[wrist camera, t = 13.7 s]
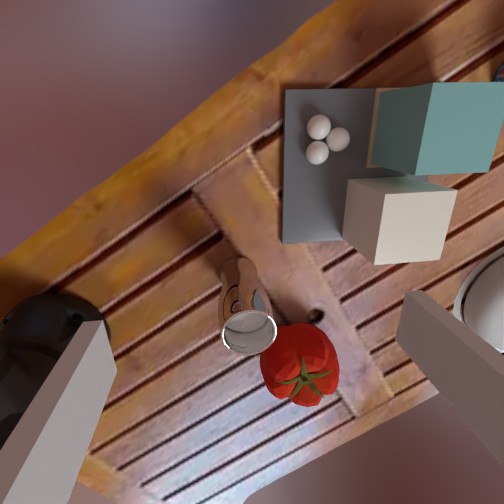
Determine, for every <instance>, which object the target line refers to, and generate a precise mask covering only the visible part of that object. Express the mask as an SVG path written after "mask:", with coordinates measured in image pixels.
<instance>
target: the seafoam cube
mask: <svg viewBox="0 0 504 504" xmlns="http://www.w3.org/2000/svg"><path fill="white" fill-rule="evenodd" d="M503 120H504V82H449V83H429V84H423V85H418V86H412V87H407V88H401V89H396V90H390V91H385V92H380V97H379V105H378V112H377V120H376V127H375V134H374V142H373V149H372V156H371V164H372V165H376V166H380V167H384V168H387V169H391V170H395V171H399V172H403V173H407V174H411V175H415V176H417V175H437V174H458V173H478V172H488V171H489V167H490V164H491V161H492V157H493V154H494V151H495V147H496V144H497V140H498V137H499V134H500V130H501V127H502V124H503Z"/></svg>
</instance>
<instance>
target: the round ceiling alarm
mask: <svg viewBox="0 0 504 504" xmlns="http://www.w3.org/2000/svg"><path fill="white" fill-rule="evenodd" d="M503 253H504V247H502V248H500V249H498V250H497V251H495V252H494V253H492V254H491V255H489V256H488V257H487V258H485V259H484V260H483V261H482V262H481V263H480V264H479V265H477V266H476V268H475V269H474V270H473V271H472V272H471V273H470V274H469V276H468V277H467V278H466V280H465V281H464V283H463V284H462V286H461V288H460V290H459V292H458V294H457V297H456V300H455V303H454V310H453V316H455V317H456V318H457V319H458V320H460V321H461V318H460V306H461V301H462V298H463V295H464V293H465V291H466V289H467V287H468V286H469V284H470V283H471V281H472V280H473V279H474V277H475V276H476V275H477V274H478V273H479V272H480V270H481V269H483V268H484V267H485V266H486V265H487V264H488V263H489V262H491V261H492V260H493V259H495V258H496V257H498V256H500V255H501V254H503ZM464 320H465V323H466V325H467V327H468V328H470V329H471V330H472V331H473V332H475V333H476V334H477V335H478V336H480V337H481V338H482V339H483V340H485V341H486V342H487V343H489V344H490V345H491V346H493V347H495V348H498V349H503V350H504V257H502V258H500V259H499V260H497V261H495V262H494V263H493V264H491V265H490V266H489V267H488V268H487V269H485V270H484V271H483V272H482V273H481V274H480V276H479V277H478V278H477V279H476V280H475V282H474V283H473V285H472V286H471V288H470V290H469V292H468V294H467V296H466V299H465V303H464Z"/></svg>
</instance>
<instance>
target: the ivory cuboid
mask: <svg viewBox="0 0 504 504" xmlns="http://www.w3.org/2000/svg"><path fill="white" fill-rule="evenodd" d="M457 192H458V190H455V189H451V188H447V187H444V186H440V185H436V184H433V183H429V182H425V181H422V180H418V179H414V178H411V177H407V176H401V177H380V178H360V179H348V184H347V194H346V203H345V212H344V222H343V231H342V238H343V239H345V240H346V241H347V242H348V243H349V244H350V245H351V246H353V247H354V248H355V249H356V250H357V251H358V252H359V253H361V254H362V255H363V256H364V257H365V258H366V259H367V260H369V261H370V262H371V263H372V264H373V265H382V264H394V263H406V262H418V261H430V260H440V257H441V253H442V249H443V245H444V241H445V238H446V234H447V230H448V226H449V222H450V218H451V215H452V211H453V207H454V203H455V199H456V195H457Z"/></svg>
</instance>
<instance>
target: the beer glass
mask: <svg viewBox="0 0 504 504" xmlns="http://www.w3.org/2000/svg"><path fill="white" fill-rule="evenodd" d="M219 276H220V280H221V283H222V285H223V287H222V291H221V295H220V299H219V305H218V320H219V327H220V332H221V340H222V343H223V345H224V346H225V347H226V348H227V349H228V350H229V351H231V352H232V353H235V354H237V355H243V356H249V355H255V354H258V353H261V352H263V351H264V350H266V349H267V348H268V347H269V346H270V345H271V344H272V343H273V341H274V340H275V337H276V334H277V327H276V324H275V319H274V313H273V309H272V306H271V303H270V300H269V298H268V296H267V294H266V292H265V291H264V289H263V288H262V286H261V285H260V283H259V282H258V281H257V269H256V267H255V265H254V263H253V262H252V261H250V260H249V259H247V258H244V257H234V258H231V259H229V260H227V261H226V262H225V263H224V264H223V265H222V267H221V269H220V273H219Z"/></svg>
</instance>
